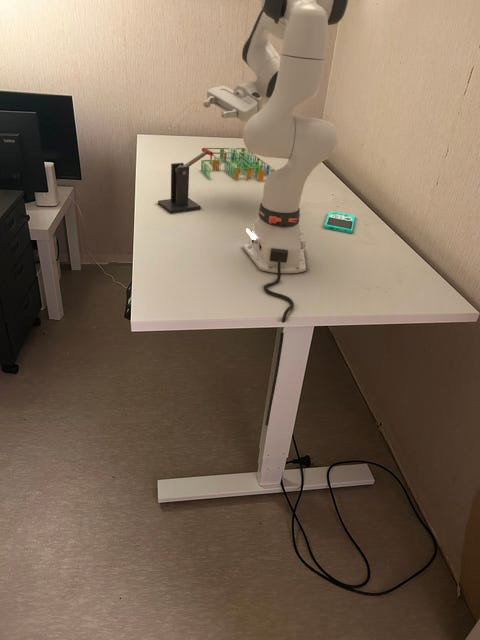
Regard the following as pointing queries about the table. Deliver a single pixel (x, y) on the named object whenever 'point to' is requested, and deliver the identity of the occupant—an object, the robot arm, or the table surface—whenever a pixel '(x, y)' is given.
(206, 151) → the lever
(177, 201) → the bracket
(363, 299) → the table surface
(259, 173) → the house model
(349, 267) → the table surface
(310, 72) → the robot arm
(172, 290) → the table surface
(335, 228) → the handheld game console
